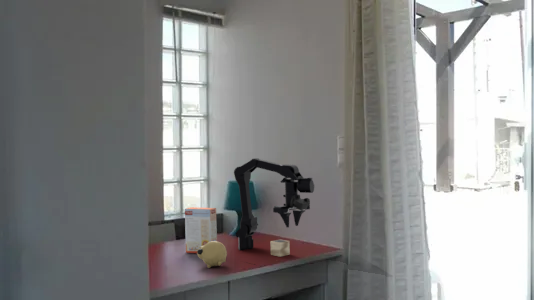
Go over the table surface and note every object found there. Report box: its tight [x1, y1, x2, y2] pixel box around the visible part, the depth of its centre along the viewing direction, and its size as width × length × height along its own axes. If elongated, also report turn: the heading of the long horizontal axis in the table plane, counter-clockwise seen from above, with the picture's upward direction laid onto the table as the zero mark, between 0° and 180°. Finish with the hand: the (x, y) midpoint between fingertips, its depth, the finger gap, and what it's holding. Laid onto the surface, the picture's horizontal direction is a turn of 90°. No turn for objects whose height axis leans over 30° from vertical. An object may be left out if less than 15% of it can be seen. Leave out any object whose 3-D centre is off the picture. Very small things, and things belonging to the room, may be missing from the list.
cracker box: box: [184, 206, 218, 254], centre depth 235 cm, size 14×6×21 cm, turn 65°
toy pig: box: [196, 240, 228, 269], centre depth 207 cm, size 10×12×11 cm
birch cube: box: [269, 239, 291, 257], centre depth 224 cm, size 6×6×6 cm
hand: (292, 226), depth 230 cm, fingers open, 6 cm apart
